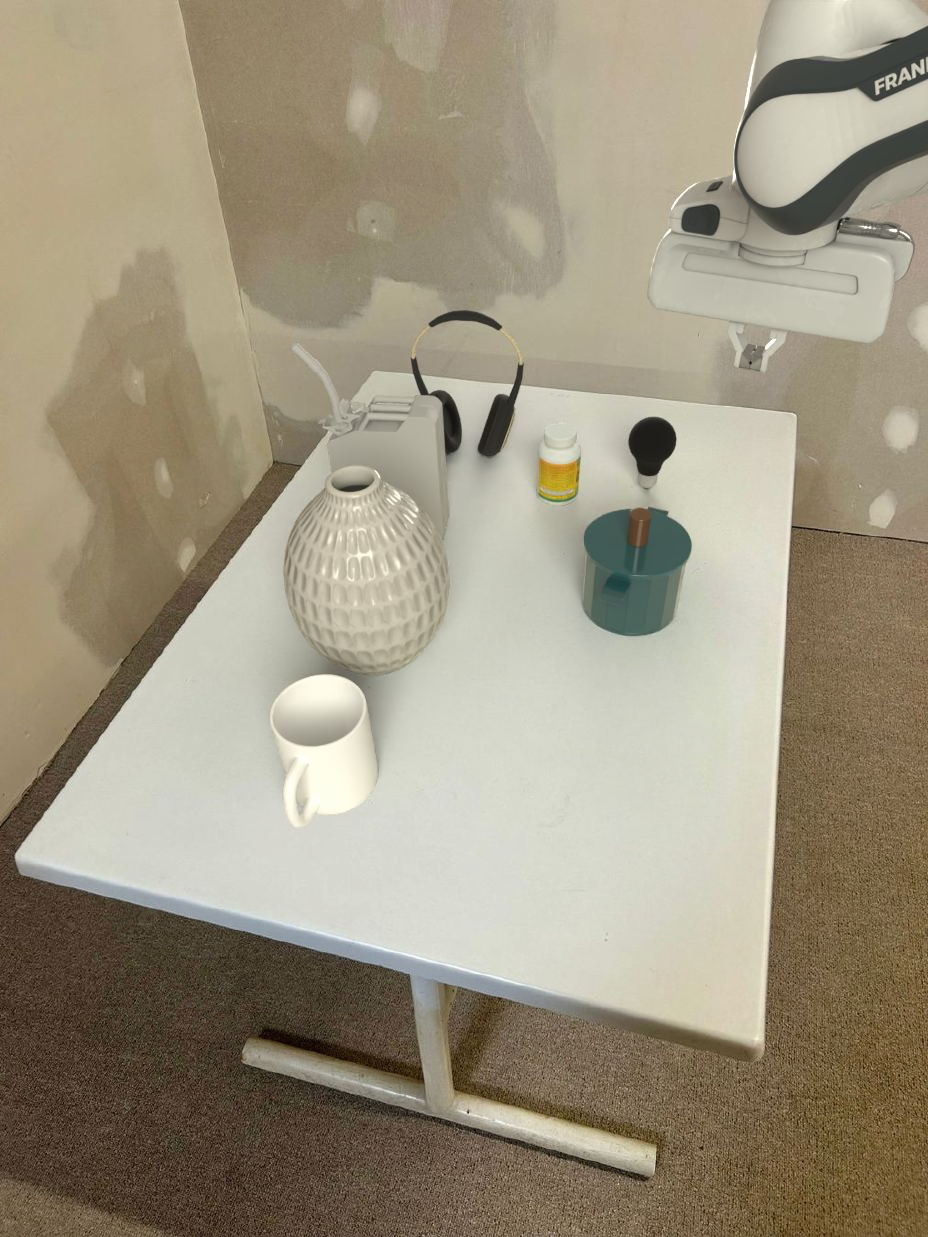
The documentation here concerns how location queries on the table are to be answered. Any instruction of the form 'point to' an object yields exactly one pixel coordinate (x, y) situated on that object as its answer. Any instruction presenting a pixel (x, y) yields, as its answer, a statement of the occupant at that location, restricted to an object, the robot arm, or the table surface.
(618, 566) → the lid
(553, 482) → the supplement bottle
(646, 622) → the cooking pot
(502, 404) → the headphones
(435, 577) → the vase
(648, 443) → the light bulb
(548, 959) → the table surface
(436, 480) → the fuel canister
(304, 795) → the cup
